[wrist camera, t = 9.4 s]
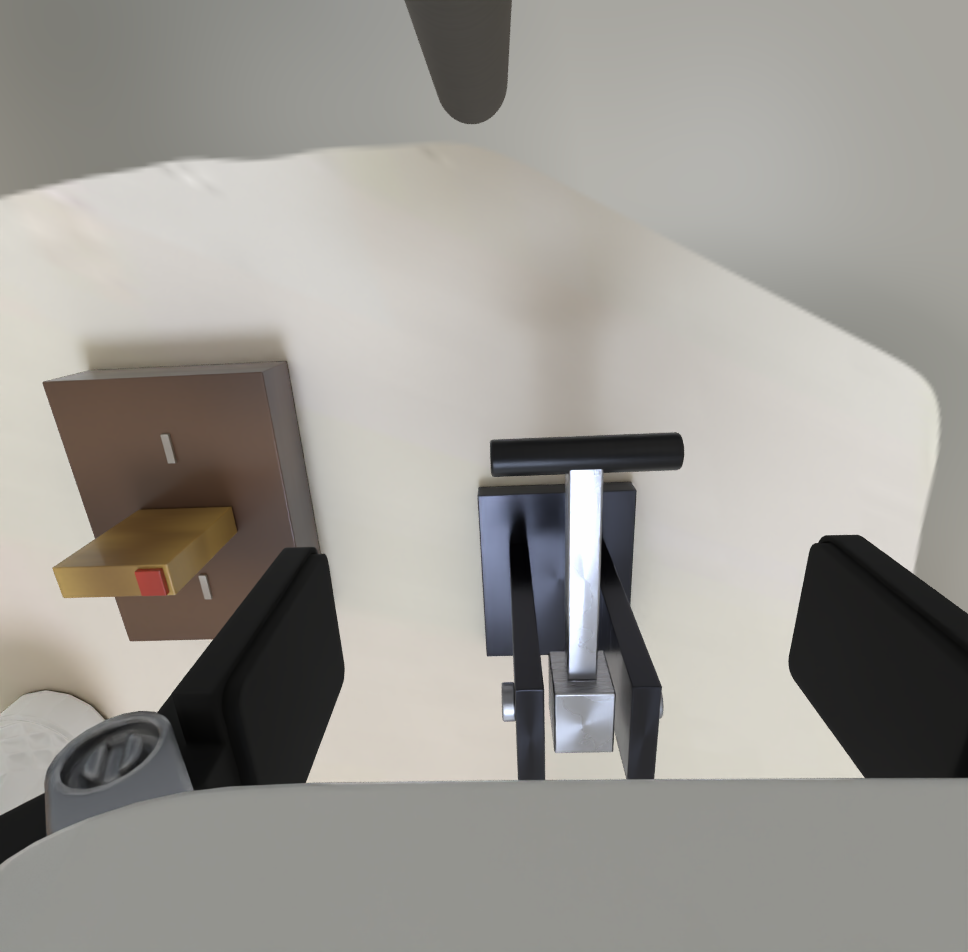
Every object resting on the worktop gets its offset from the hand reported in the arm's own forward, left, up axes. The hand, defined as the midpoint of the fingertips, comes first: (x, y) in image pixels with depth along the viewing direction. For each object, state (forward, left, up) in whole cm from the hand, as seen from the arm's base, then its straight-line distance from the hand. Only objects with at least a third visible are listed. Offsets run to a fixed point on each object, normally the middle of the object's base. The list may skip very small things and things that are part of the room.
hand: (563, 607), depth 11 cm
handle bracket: (+9, +1, -18) cm, 20 cm away
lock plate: (+4, -17, -18) cm, 24 cm away
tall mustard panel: (+4, -17, -15) cm, 22 cm away
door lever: (+5, +1, -9) cm, 10 cm away
